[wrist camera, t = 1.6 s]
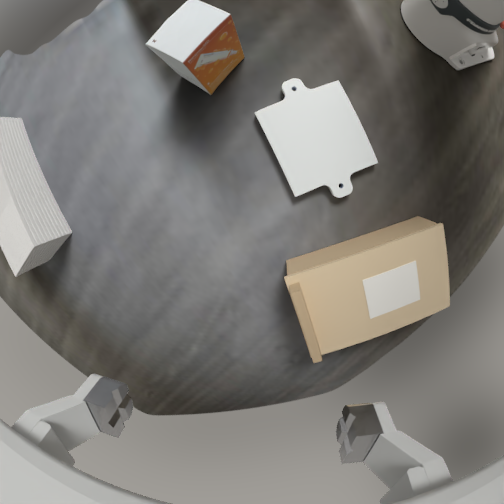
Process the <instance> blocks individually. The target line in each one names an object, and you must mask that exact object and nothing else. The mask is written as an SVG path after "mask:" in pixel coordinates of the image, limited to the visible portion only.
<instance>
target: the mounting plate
mask: <svg viewBox="0 0 504 504" xmlns="http://www.w3.org/2000/svg"><path fill="white" fill-rule="evenodd" d="M293 90H296V91H293ZM282 92H283V94H284V96H285V98H284V99H283V100H282V101H280V102H278V103H275V104H273V105H271V106H268V107H266V108H264V109H261V110H259V111H257V112H255V115H256V117H257V119H258V121H259V123H260V125H261V127H262V129H263V131H264V133H265V135H266V137H267V139H268V141H269V143H270V145H271V147H272V149H273V151H274V153H275V155H276V157H277V159H278V161H279V163H280V165H281V168H282V170H283V172H284V174H285V176H286V178H287V180H288V183H289V185H290V187H291V189H292V191H293V194H294V196H295V197H297V196H299V195H301V194H304V193H306V192H308V191H311V190H313V189H315V188H318V187H320V186H323V185H326V186H327V187H328V188H329V189H330V192H331V194H332V195H333V196H335V197H338V198H341V197H344V196H346V195H349V194H350V193H351V192H352V189H353V187H352V184H351V181H350V176H351V174H352V173H354V172H356V171H359V170H361V169H364V168H366V167H369V166H371V165H374V164H376V163H378V161H377V159H376V156H375V154H374V151H373V149H372V147H371V144H370V142H369V140H368V138H367V135H366V133H365V131H364V129H363V127H362V125H361V123H360V121H359V118H358V116H357V114H356V112H355V110H354V108H353V106H352V104H351V103H350V101H349V99H348V97H347V95H346V93H345V91H344V89H343V88H342V86H341V84H340V82H339V80H338V81H335V82H332V83H329V84H326V85H323V86H320V87H317V88H314V89H308V88H306V87H305V86H304V84H303V83H302V81H301V80H300V79H297V78H294V79H291V80H288V81H285V82H284V83H283V84H282ZM339 184H341V187H340V188H339Z"/></svg>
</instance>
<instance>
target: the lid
mask: <svg viewBox="0 0 504 504" xmlns="http://www.w3.org/2000/svg"><path fill="white" fill-rule="evenodd" d="M284 279H285V282H286V285H287V288H288V291H289V294H290V296H291V299H292V302H293V305H294V308H295V311H296V314H297V317H298V320H299V323H300V326H301V329H302V332H303V335H304V338H305V341H306V344H307V347H308V350H309V353H310V356H311V358H312V359H313V363H316V362H320V361H322V356H321V355H323V354H327V353H330V352H333V351H336V350H340V349H343V348H346V347H349V346H352V345H355V344H358V343H361V342H364V341H367V340H370V339H372V338H375V337H378V336H381V335H383V334H386V333H389V332H391V331H394V330H396V329H399V328H401V327H404V326H406V325H409V324H411V323H414V322H416V321H418V320H421V319H423V318H425V317H427V316H430V315H432V314H434V313H436V312H438V311H440V310H442V309H445V308H447V307H449V306H450V290H449V272H448V259H447V250H446V241H445V233H444V227H443V224H442V223H439V224H436V225H433V226H431V227H428V228H425V229H423V230H420V231H417V232H414V233H412V234H409V235H406V236H403V237H401V238H398V239H395V240H392V241H390V242H387V243H384V244H381V245H378V246H375V247H372V248H370V249H367V250H364V251H361V252H358V253H355V254H352V255H349V256H346V257H343V258H340V259H337V260H334V261H331V262H328V263H325V264H322V265H319V266H316V267H313V268H310V269H307V270H303V271H300V272H297V273H294V274H291V275H288V276H284Z"/></svg>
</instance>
